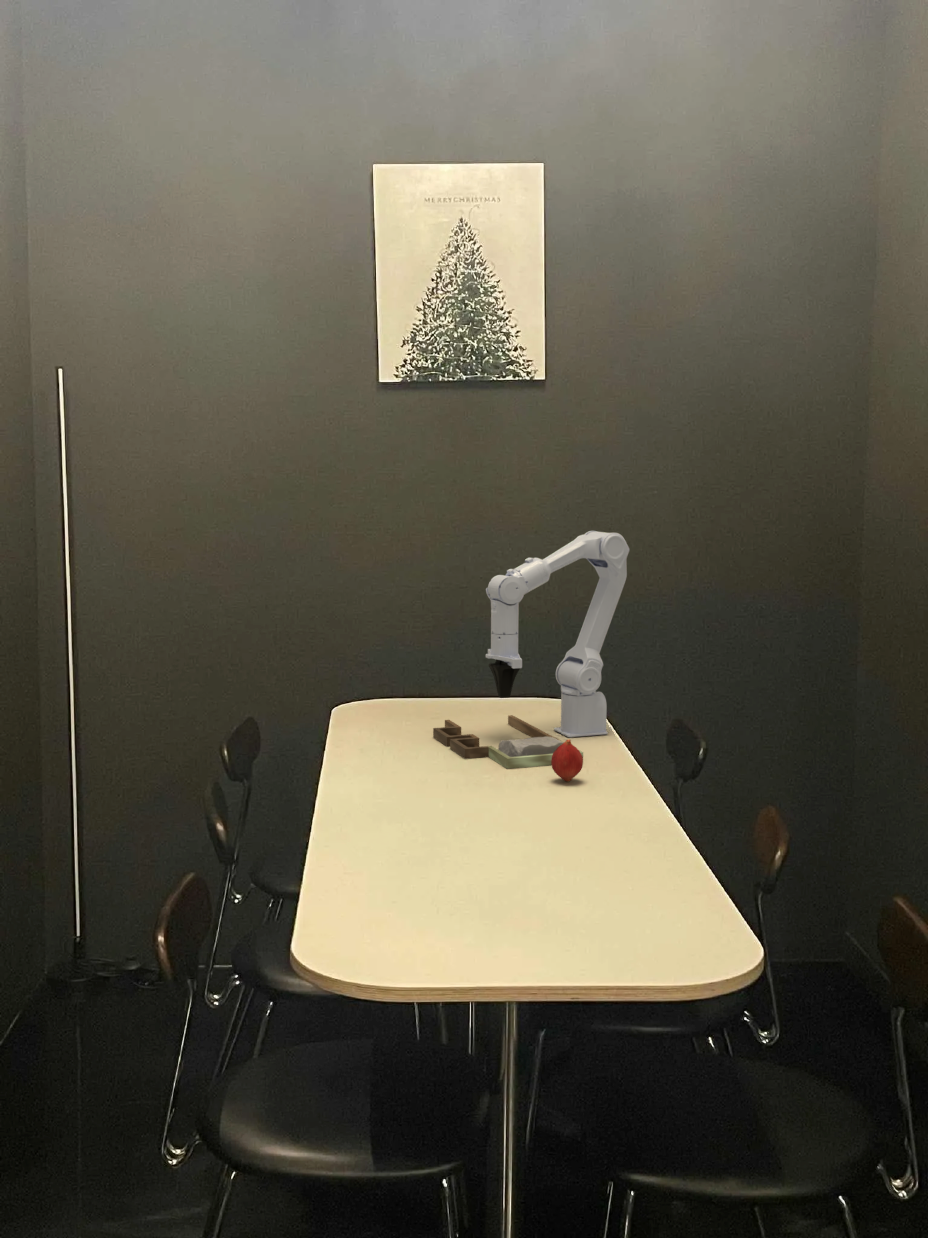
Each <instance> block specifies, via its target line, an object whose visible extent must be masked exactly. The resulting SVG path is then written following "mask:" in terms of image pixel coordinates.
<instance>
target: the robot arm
mask: <svg viewBox="0 0 928 1238" xmlns="http://www.w3.org/2000/svg"><path fill="white" fill-rule="evenodd" d="M627 543H628V542H627V541H626V540H625V538H624V536H623V535H622V534H620V533H618V532H604V531H596V530H589V531H587V532H585V533H584V534H580V535H578V536H577V537H576V538H575V539H573V540H572V541H570V542H569V543H566V544H565V545H564V546H562V547H560V548H559V549H557V550H556V551H554V552H553V553H550V554H549V555H548V556H546V557H545V558H539V557H527V558H526V559H525V560H524V562H523V563H522V564H520V565H519V566H517V567H514V568H509V569H506V573H505V575H504V574H497V575H495V576H493V577H492V578H491V579H490V581H489V583H488V585H487V587H486V588H485V593H486V595H487V597H488V599H489V600H490V615H491V617H490V648H487V653H486V654H485V658H486V659H493V660H495V662H491V663H489V664H488V667H489V669H490V671H491V673H492V675H493V679H494V682H495V687H496V692H497V697H499V698H500V699H504V698H505V699H506V698H507V699H508V698H510V697H511V694H512V690H513V686H514V682H515V679H516V677H517V675H518V673H519V672H520V670H521V669H522V668H523V659H522V658H521V655H520V654H519V621H520V620H519V613H520V611H519V609H520V607H519V605H520V603H521V601H522V600H523V598H524V595H526V594H528V593H529V592H531V591H533V590H535V589H536V588H538V587H540V586H543V585H544V584H546V583H547V582H549V581H550V577H551V574H552V573H554V572H556V571H558V570H560V569H562V568H564V567H566V566H568V565H571V564H573V563H574V562H576V561H579V560H580V559H586V560H587V562H589V563H590V565H592V566H593V568H594V569H595V571H596V573H597V575H598V577H599V579H598V582H597V585H596V587H595V590H594V592H593V596H592V598H591V601H590V604H589V607H588V609H587V612H586V614H585V618H584V620H583V623H582V627H581V629H580V632H579V633H578V637H577V639H576V643H575V645H574V646H572V647H571V648H570V649H569V650H567V651H566V653H565V656H564V658H563V659H562V660H561V661H560V662H559V663H558V665H557V667H556V670H555V679H556V682H557V684H559V686H560V691H561V694H560V695H561V697H560V727H553V731H555V732H558V733H559V734H561V735H563V736H565V737H568V738H576V737H586V736H587V737H589V736H601V735H608V734H609V732H608V731H607V707H608V706H607V705H608V704H607V699H606V695H604V693H603V692H602V691H597V690H598V689H599V687H600V685H601V683H602V669H603V667H604V661H603V659H602V657H601V654H600V653H601V650H602V647H603V645H604V642H605V639H606V636H607V633H608V631H609V628H610V625H611V622H612V619H613V617H614V614H615V611H616V608H617V606H618V603H619V600H620V598H621V594H622V592H623V589H624V586H625V583H626V580H627V576H628V571H627V570H628V569H627V565H628V564H627V558H628V555H629V553H630V547H629V545H628V544H627Z"/></svg>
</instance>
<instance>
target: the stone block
mask: <svg viewBox="0 0 928 1238" xmlns="http://www.w3.org/2000/svg"><path fill="white" fill-rule="evenodd" d="M553 737H554V736H553ZM553 737H547V736H546V737H534V738H532V737H528V738H523V739H520V738H518V739H507V740H506V739H505V740H504V739H502V740H500V741H499V745H498V748H497V749H498V750H499V751H501V752H503V753H504V754H506V755H508V756H509V757H517V756H529V755H541V754H553V753H554V751H555V750H556V749H557V748H558V747H559V746H560V745H562V744H563V742H564V741H563V742H561V741H562V740H561V741H559V740H560V739H559V740H557V739H558V738H557V737H555V738H553ZM556 738H557V739H556Z"/></svg>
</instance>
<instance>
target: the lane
mask: <svg viewBox="0 0 928 1238" xmlns="http://www.w3.org/2000/svg"><path fill="white" fill-rule="evenodd" d="M507 724H508V726H510V727H512V728H514V729H515V730H518V731H519V732H521V733H524V734H525V735H527V736H529V737H530V738H534V737H546V736H547V737H553V738H556V739H557V740H559V741H561V742H563V743H564V742H565V741H562V740H560V739H559V738H557V737H555V736H552V734H549V733H548V732H545V731H544V730H541V729H539V728H537V727H536V726H534V725H532V724H529V723H528V722H527V721H524V720H522V719H520V718H518V716H517V717H516V715H513V714H510V715H507ZM432 729H433V730H432V733H433V735H432V737H433V739H435V740H437V741H438V742H440V743H441V744H442V745H444V746H445V747H446V748H447V747H448V748H449V749H450V750H451V751H453V752H454V753H455V754H457V755H459V756H460V757H461V758H463V759H465V760H466V759H467V760H468V759H479V758H480V759H481V758H489V759H491V760H493V761H494V762H496V763H497V764H499V765H500V766H502V767H503V768H505V769H508V770H510V769H511V770H513V769H523V768H533V767H543V766H544V767H545V766H552V764H551V760H552V755H553V754H541V755H529V756H517V757H509V756H508V755H506V754H504V753H503V752H501V751H499V750H498V749H499V748H496V747H495V746H492V745H483V746H480V738H479V737H478V736H477V735H475V734H473V733H469V734H462V726H460V725H459V724H457V723H455V722H454V721H453V720H450V719H444V727H433V728H432ZM578 750H579V749H578ZM579 751H580V753H581V755H582V758H583V759H584V751H581V750H579Z"/></svg>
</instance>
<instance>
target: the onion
mask: <svg viewBox="0 0 928 1238" xmlns="http://www.w3.org/2000/svg"><path fill="white" fill-rule="evenodd" d="M563 742H564V743H563V744H562V745H560V746H559V747H558V748H557V749H556V750H555V751H554V753H553V755H552V760H551V764H552V765H551V769H552V770H553V772H554V773H555V774H556V775H557V776H558V777H559V778H561V779H562V780H563V781H564V782H566V783H567V782H568V783H569V782H571V781H572V780H573V778H575V777H576V776H577V775H579V773H580V772H581V771H582V768H583V765H584V757H583V758H582V755H581V753H580V751H581V750H580V751H579V748H577V747H576V746H575V745H573V744H572V742H571V739H570V738H568V739H566V740H565V741H563Z"/></svg>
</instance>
